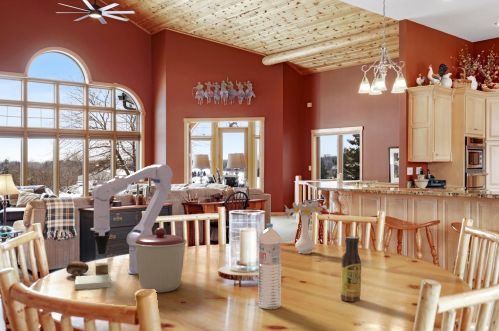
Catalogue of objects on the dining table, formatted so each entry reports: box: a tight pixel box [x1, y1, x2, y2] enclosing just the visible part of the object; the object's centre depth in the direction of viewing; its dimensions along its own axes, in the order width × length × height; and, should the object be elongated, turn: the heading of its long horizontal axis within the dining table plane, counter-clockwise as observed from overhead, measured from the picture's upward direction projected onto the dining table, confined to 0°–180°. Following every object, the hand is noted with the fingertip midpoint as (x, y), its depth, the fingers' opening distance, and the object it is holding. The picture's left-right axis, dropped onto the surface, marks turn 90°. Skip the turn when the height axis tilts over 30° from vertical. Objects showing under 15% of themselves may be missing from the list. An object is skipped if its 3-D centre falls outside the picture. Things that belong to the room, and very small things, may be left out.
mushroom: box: [65, 260, 89, 277], centre depth 185 cm, size 8×8×6 cm
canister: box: [133, 227, 188, 294], centre depth 166 cm, size 18×18×21 cm
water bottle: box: [257, 223, 282, 310], centre depth 146 cm, size 7×7×25 cm
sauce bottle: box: [340, 236, 362, 303], centre depth 153 cm, size 7×6×20 cm
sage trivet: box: [74, 273, 112, 290], centre depth 172 cm, size 12×12×2 cm
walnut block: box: [95, 262, 109, 275], centre depth 183 cm, size 4×4×5 cm
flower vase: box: [284, 200, 324, 255], centre depth 232 cm, size 13×18×25 cm
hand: (101, 252), depth 183 cm, fingers open, 7 cm apart
